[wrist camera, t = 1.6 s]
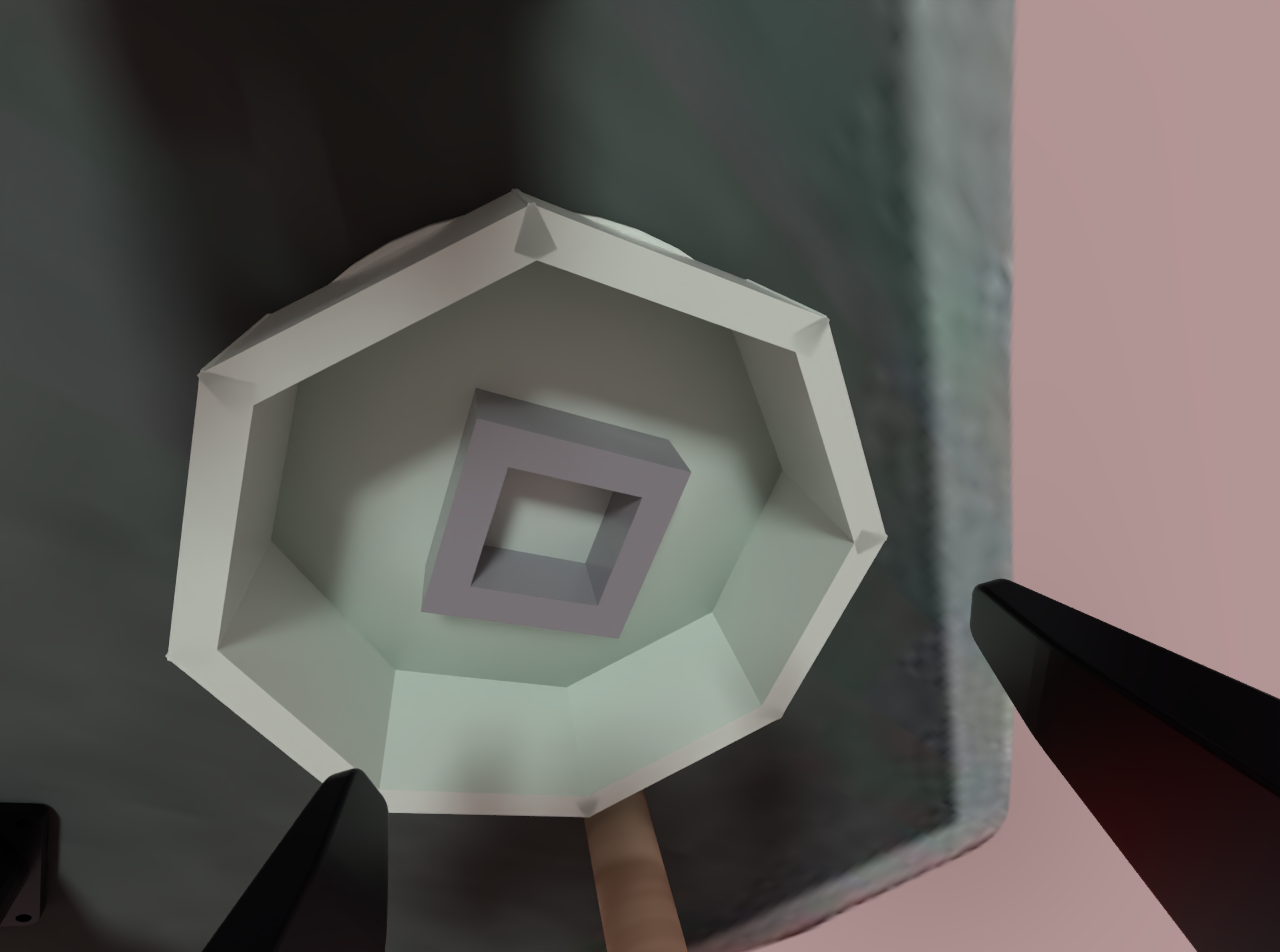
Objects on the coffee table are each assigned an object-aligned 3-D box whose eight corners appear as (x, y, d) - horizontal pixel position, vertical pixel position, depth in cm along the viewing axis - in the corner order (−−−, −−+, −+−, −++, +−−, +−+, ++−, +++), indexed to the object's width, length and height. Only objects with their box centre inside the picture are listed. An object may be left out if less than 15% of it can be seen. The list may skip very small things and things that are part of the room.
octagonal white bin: (676, 703, 29) (722, 823, 24) (216, 657, 22) (141, 811, 17) (869, 321, 22) (990, 373, 17) (300, 95, 16) (220, 70, 11)
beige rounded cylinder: (627, 811, 32) (680, 1025, 24) (571, 809, 31) (607, 1034, 23) (649, 769, 31) (711, 979, 23) (591, 765, 30) (636, 985, 22)
